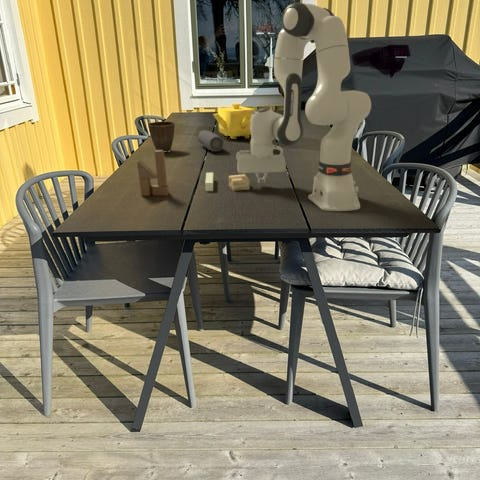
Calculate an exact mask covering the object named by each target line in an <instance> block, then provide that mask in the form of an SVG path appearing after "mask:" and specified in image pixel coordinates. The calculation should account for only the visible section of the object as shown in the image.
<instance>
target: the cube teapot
mask: <svg viewBox="0 0 480 480" xmlns="http://www.w3.org/2000/svg"><path fill="white" fill-rule="evenodd" d="M255 110H256V109H255V108H252V107H247V106H243V105H240V103H232V106H228V107H226V106H225V107H218V108H217V112H216V113H213V114H212V115H213V117H214V118H215V119H216V121H217V122H218V132H219V133H220V134H222V135H225V136H230V137H229V139H230V138H231V139H236V140H237V137H243V138H244V137H245V138H244V139H250V138H249V137H251V132H250V124H251V115H252V113H253V112H254V111H255Z"/></svg>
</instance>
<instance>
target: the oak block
mask: <svg viewBox="0 0 480 480" xmlns="http://www.w3.org/2000/svg"><path fill="white" fill-rule="evenodd" d="M228 186H229V187H230V189H231V190H232V191H234V192H235V191H243V190H250V178H249V177H248V176H247V175H246V173H241V174H233V175H228Z"/></svg>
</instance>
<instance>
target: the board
mask: <svg viewBox="0 0 480 480" xmlns="http://www.w3.org/2000/svg"><path fill="white" fill-rule="evenodd" d="M204 184H205V185H204V186H205V192H214V172H206V173H205V183H204Z"/></svg>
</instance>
